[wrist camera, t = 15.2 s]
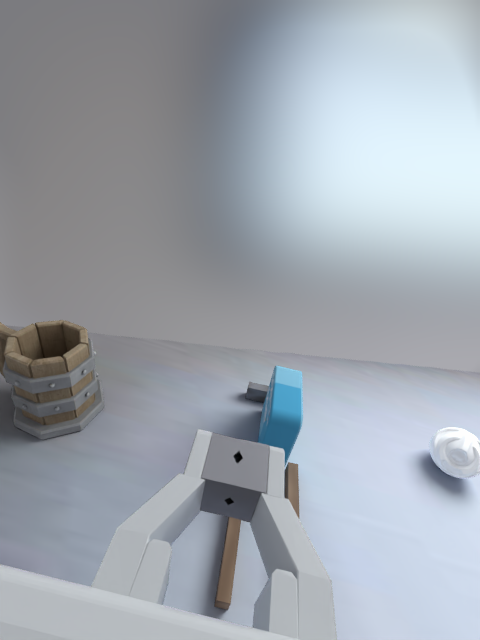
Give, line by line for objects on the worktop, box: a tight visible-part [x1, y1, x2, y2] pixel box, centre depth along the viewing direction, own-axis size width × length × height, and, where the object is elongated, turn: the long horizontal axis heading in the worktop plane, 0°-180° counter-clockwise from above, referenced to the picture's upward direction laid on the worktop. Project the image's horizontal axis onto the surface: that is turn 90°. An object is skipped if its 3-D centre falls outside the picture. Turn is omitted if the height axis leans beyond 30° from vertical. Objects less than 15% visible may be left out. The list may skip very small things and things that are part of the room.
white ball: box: [429, 428, 480, 479], centre depth 52 cm, size 8×8×8 cm
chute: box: [215, 382, 299, 610], centre depth 46 cm, size 10×33×3 cm, turn 172°
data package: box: [258, 366, 303, 465], centre depth 50 cm, size 12×4×12 cm, turn 170°
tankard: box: [0, 320, 104, 440], centre depth 48 cm, size 20×13×15 cm, turn 71°
